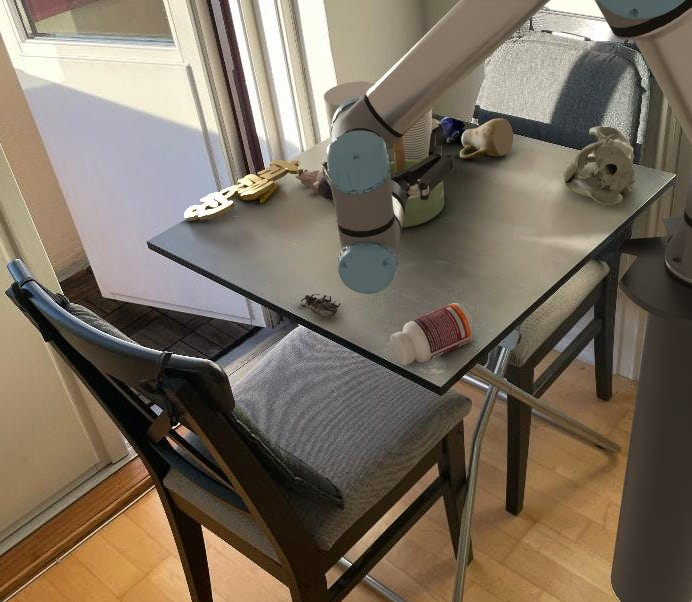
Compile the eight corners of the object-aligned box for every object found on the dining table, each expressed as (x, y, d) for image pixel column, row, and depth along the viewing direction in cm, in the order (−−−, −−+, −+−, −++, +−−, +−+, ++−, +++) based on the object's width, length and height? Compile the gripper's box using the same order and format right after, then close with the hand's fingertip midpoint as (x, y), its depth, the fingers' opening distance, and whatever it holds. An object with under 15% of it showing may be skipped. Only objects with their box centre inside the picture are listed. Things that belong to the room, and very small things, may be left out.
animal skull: (566, 187, 154) (547, 124, 149) (632, 165, 151) (616, 99, 145) (574, 222, 139) (554, 153, 134) (649, 198, 135) (631, 126, 130)
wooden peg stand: (428, 200, 148) (420, 93, 135) (409, 217, 144) (399, 109, 131) (399, 193, 151) (388, 88, 138) (380, 210, 148) (367, 104, 134)
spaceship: (475, 144, 162) (456, 158, 165) (478, 128, 166) (460, 143, 169) (450, 118, 159) (431, 133, 162) (454, 103, 163) (436, 118, 167)
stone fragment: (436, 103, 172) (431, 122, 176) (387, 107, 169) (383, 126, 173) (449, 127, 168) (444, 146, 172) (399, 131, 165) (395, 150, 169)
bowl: (458, 197, 148) (457, 167, 145) (417, 236, 140) (414, 206, 137) (393, 182, 156) (390, 154, 152) (350, 219, 148) (346, 190, 144)
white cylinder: (343, 155, 167) (332, 82, 157) (392, 155, 164) (385, 81, 154) (329, 180, 160) (316, 105, 150) (380, 181, 157) (371, 105, 147)
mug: (468, 139, 165) (493, 99, 158) (501, 171, 162) (528, 131, 155) (447, 146, 160) (471, 105, 153) (480, 179, 158) (507, 138, 150)
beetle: (322, 299, 131) (321, 282, 129) (342, 318, 126) (341, 300, 124) (300, 305, 130) (299, 288, 128) (319, 325, 125) (318, 307, 123)
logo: (278, 186, 161) (244, 182, 164) (278, 182, 160) (244, 178, 164) (262, 202, 157) (228, 198, 160) (261, 199, 156) (227, 195, 159)
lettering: (197, 227, 151) (195, 223, 150) (179, 214, 159) (177, 210, 158) (309, 168, 157) (307, 163, 157) (286, 158, 165) (285, 154, 164)
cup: (437, 152, 163) (432, 76, 152) (437, 173, 156) (431, 95, 146) (395, 155, 164) (387, 81, 154) (393, 176, 158) (385, 100, 147)
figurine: (324, 164, 162) (370, 170, 150) (320, 197, 163) (365, 205, 152) (284, 158, 156) (328, 164, 145) (280, 192, 158) (323, 201, 146)
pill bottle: (452, 293, 116) (386, 321, 113) (477, 318, 112) (409, 347, 109) (451, 324, 121) (387, 351, 118) (474, 349, 117) (409, 378, 114)
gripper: (297, 238, 120) (319, 169, 135) (467, 231, 115) (470, 159, 131) (288, 194, 115) (312, 126, 130) (465, 184, 110) (468, 115, 126)
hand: (391, 143), depth 131 cm, fingers open, 13 cm apart
